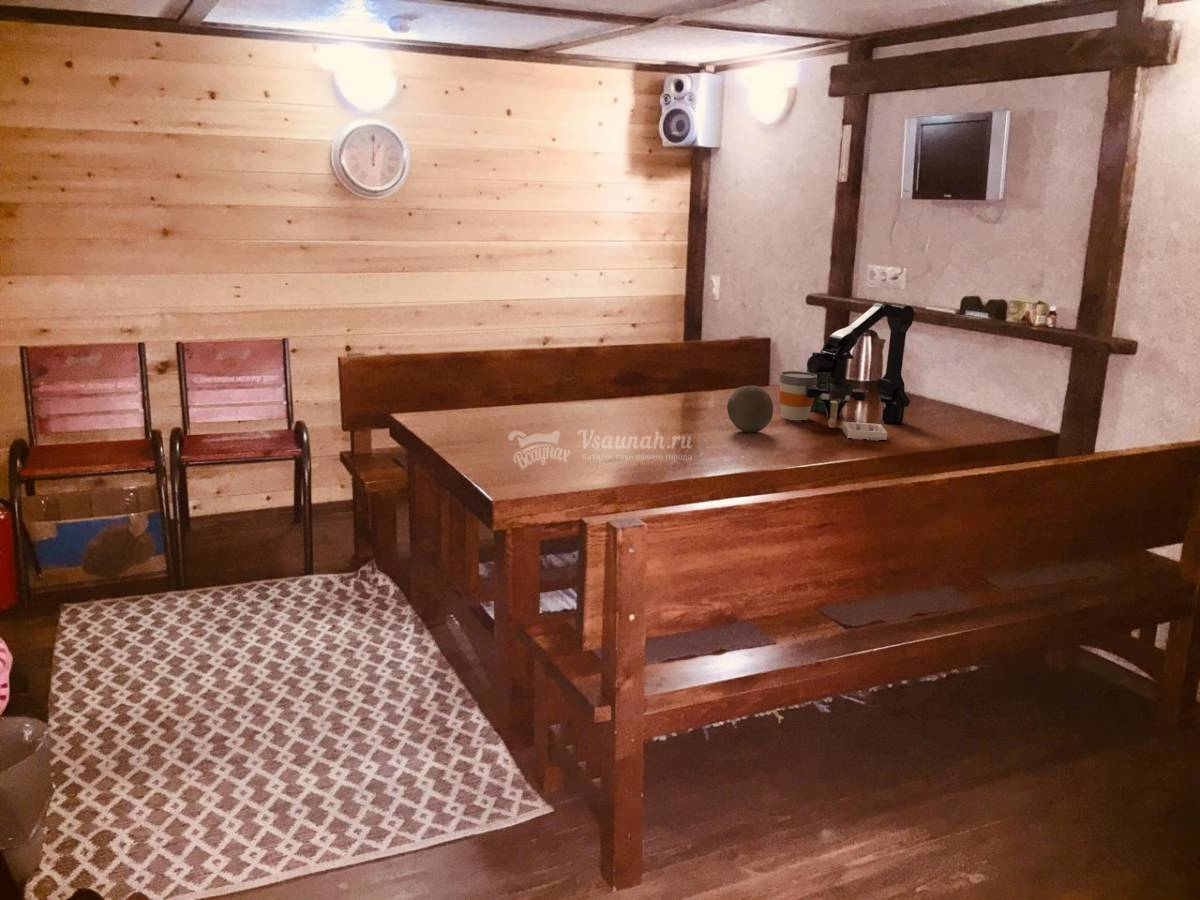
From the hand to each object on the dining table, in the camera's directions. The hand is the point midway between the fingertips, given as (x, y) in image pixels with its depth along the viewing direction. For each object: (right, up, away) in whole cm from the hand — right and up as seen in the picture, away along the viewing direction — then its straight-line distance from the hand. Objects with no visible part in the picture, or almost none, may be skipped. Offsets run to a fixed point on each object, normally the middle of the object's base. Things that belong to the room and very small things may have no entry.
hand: (832, 419), depth 324 cm
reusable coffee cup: (-10, +1, +11) cm, 15 cm away
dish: (+8, -5, -9) cm, 13 cm away
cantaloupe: (-29, -5, -13) cm, 32 cm away
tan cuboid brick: (0, -2, +1) cm, 2 cm away
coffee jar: (0, +4, +27) cm, 27 cm away
